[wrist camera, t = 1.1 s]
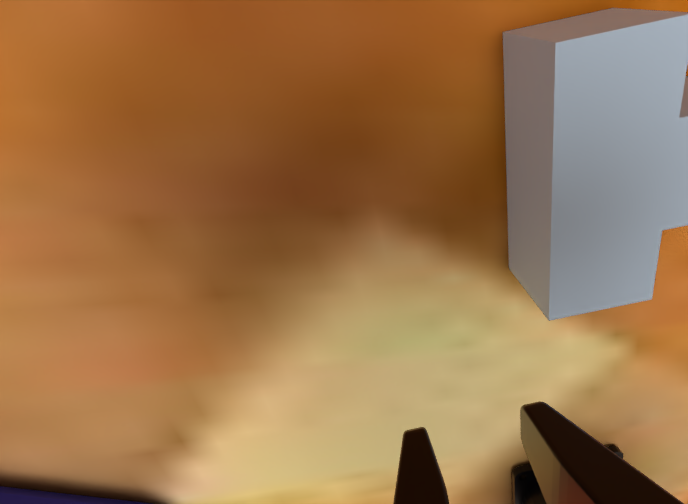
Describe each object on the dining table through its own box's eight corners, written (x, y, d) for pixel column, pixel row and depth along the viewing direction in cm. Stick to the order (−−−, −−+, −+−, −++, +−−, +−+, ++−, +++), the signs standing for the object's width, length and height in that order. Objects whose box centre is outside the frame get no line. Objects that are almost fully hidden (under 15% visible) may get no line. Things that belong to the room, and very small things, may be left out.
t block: (725, 222, 22) (807, 266, 18) (508, 268, 22) (548, 320, 19) (781, -29, 17) (906, -33, 14) (502, 31, 17) (555, 43, 14)
